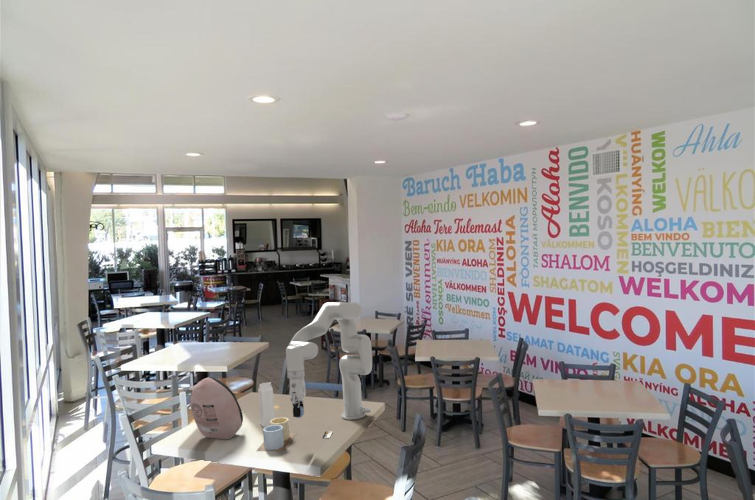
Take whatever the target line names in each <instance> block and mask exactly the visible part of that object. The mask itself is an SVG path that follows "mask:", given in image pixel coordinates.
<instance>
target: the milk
mask: <svg viewBox="0 0 755 500" xmlns="http://www.w3.org/2000/svg"><path fill="white" fill-rule="evenodd" d="M257 391H258V392H257V394H258V396H257V397H258V409H259V411H258V414H259V425H261V426H262V427H263V428H265V427H267V426H270V421H271V420H272V419H275V418H276V417H275V404H274V401H275V400H274V399H275V398H274V389H273V387H272V381H269V382H264V383H259V385H258V389H257Z"/></svg>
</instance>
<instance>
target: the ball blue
mask: <svg viewBox="0 0 755 500" xmlns="http://www.w3.org/2000/svg"><path fill="white" fill-rule="evenodd" d="M299 407H300V411H301V416H300V417H295V418H297V419H299V418H300V419H301V418H302V417H303V416H304V414H305V409H303V408H302V407H301V406H299Z"/></svg>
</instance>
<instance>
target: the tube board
mask: <svg viewBox="0 0 755 500" xmlns="http://www.w3.org/2000/svg"><path fill="white" fill-rule="evenodd" d="M323 433H324V434H323V435H322V438H321V439H330V438H331V437H332V435H333V430H326V431H324V432H323ZM297 434H298V433H297V432H294V433H290V437H289V438H288V439H286V440H284V446H283V447H282V448H280V449H276V450H267V449H265V448H264V441H263V442H262V444H261V445H260V446H258V448H257V450H256V452H268V451H269V452H279V451H282V452H283V451H287V449H288V447H289V446H290V444H291V443H292V441H293V440H294V438H295V436H297Z"/></svg>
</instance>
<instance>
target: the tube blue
mask: <svg viewBox="0 0 755 500" xmlns="http://www.w3.org/2000/svg"><path fill="white" fill-rule="evenodd" d="M262 434H263V442H264V448H265V449H267V450H276V449H280V448H282V447H283V446H284V436H283V427H282V426H281V425H271V426H267V427H263V429H262Z"/></svg>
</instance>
